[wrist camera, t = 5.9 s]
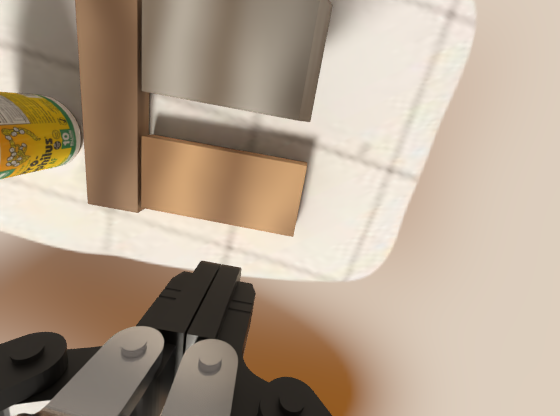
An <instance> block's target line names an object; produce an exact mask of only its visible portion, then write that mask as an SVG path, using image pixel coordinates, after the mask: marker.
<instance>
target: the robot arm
mask: <svg viewBox="0 0 560 416" xmlns="http://www.w3.org/2000/svg"><path fill="white" fill-rule="evenodd" d="M240 276H241V268H239V267H234V266H228V265H223V264H222V265H221V264H217V263H212V262H206V261H201V262H200V263H199V265H198V266H197V268H196V269H195V271H194V272H193V273H190V272H185V271H184V272H182V273H180V274H179V275H177V276H175V277H173V278H172V279H171V281H170V282H169V283H168V284H167V286H166V287H165V289H164V290H163V291H162V292H161V294H160V295H159V297H158V298H157V299H156V300H155V302H154V303H153V304H152V306H151V307H150V308H149V309H148V311H147V312H146V313H145V315H144V316H143V317H142V319H141V320H140V321H139V323H138V324H137V325H136V327H131V328H127V329H125V330H122V331H120V332H118V333H116V334H115V335H114V336H112V337H111V338H110V339H109V340H108V341H107V342H106V343H105V344H104V345H103V346H99V347H91V348H80V349H67V343H66V340H65V339H64V337H63V336H61V335H59V334H57V333H53V332H39V333H33V334H28V335H25V336H22V337H19V338H16V339H14V340H11V341H8V342H5V343H2V344H0V416H160V414H161V416H332V415H331V414H330V412H329V411H328V410H327V408H326V407H325V406H324V405H323V403H322V402H321V401H320V399H319V398H318V397H317V395H316V394H315V393H314V391H313V390H312V389H311V388H310V387H309V386H308V385H307V384H305V383H304V382H302V381H300V380H298V379H295V378H292V377H281V378H277V379H274V380H273V381H271V382H267V381H265V380H263V379H261V378H259V377H258V376H256V375H255V374H253V373H252V372H251V371H250V370H249V369H248V367H247V366H246V364H245V362H244V360H243V354H244V350H245V346H246V341H247V336H248V332H249V328H250V322H251V316H252V310H253V305H254V299H255V291H254V289H253V285H252V284H250V283H244V282H240ZM163 407H164V408H163ZM161 412H162V413H161Z"/></svg>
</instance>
